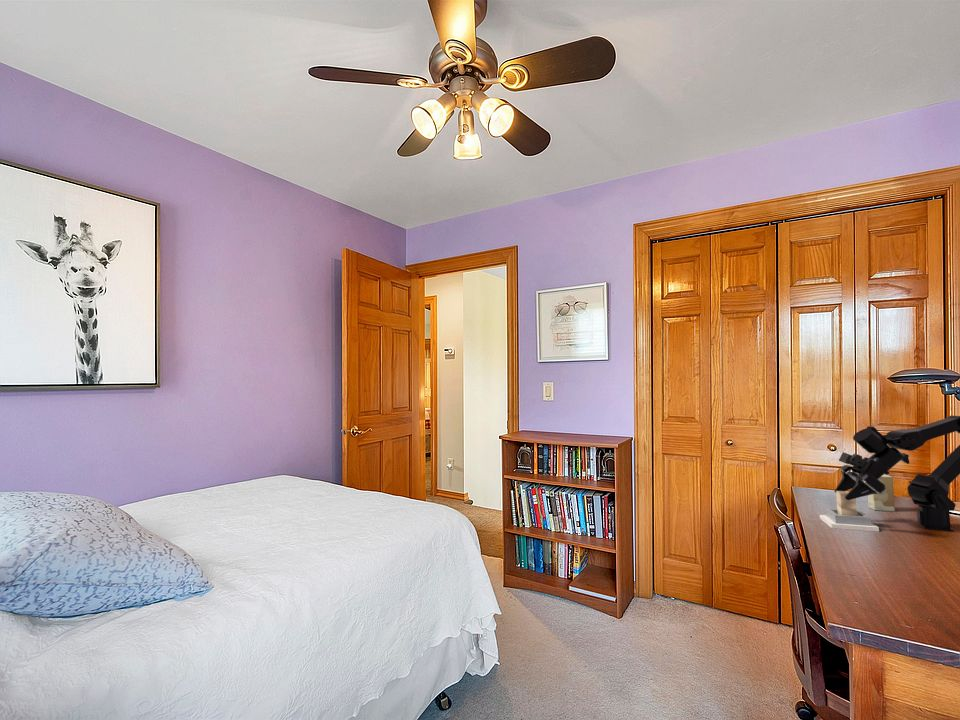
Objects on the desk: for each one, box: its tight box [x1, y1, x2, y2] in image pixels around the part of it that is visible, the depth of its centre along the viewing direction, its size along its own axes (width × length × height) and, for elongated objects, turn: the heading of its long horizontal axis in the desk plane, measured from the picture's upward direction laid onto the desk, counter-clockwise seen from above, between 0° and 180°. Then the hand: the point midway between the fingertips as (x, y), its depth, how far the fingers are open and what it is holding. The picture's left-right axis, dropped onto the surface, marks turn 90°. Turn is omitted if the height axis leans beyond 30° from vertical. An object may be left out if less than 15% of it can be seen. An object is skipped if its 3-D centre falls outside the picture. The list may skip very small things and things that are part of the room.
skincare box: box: [867, 474, 896, 512], centre depth 165 cm, size 6×4×12 cm
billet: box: [835, 490, 858, 516], centre depth 148 cm, size 4×4×9 cm
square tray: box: [819, 508, 880, 532], centre depth 148 cm, size 12×12×4 cm
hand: (840, 495), depth 149 cm, fingers open, 9 cm apart
